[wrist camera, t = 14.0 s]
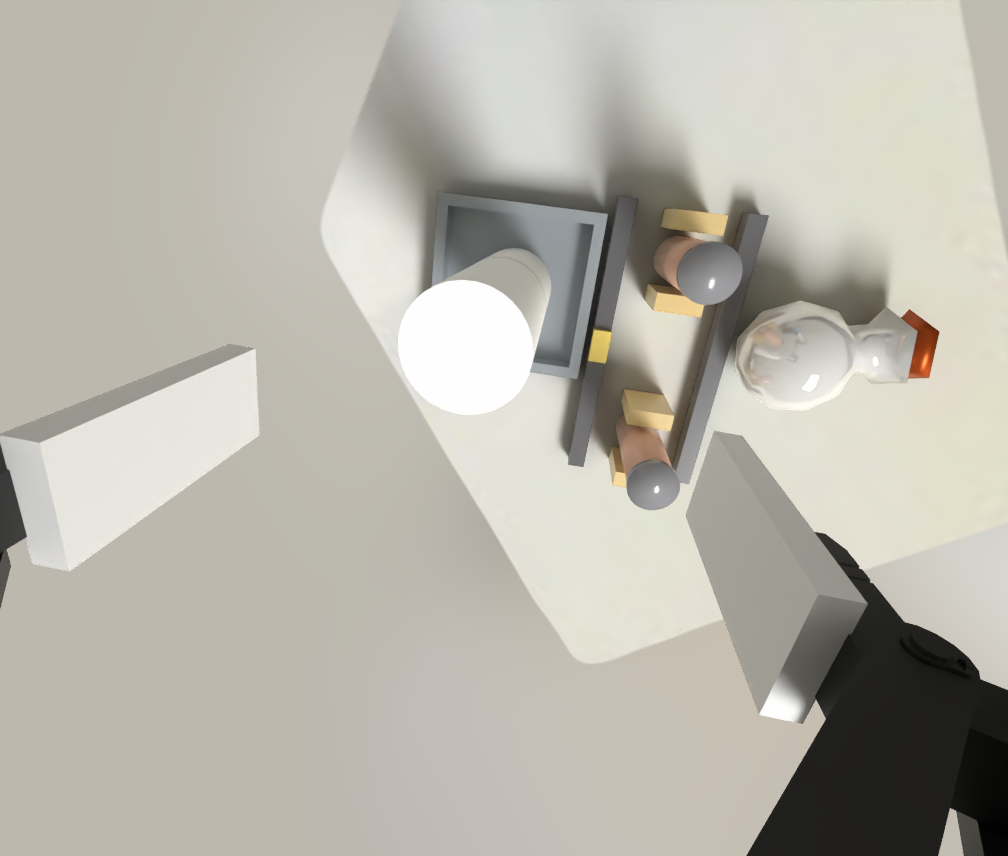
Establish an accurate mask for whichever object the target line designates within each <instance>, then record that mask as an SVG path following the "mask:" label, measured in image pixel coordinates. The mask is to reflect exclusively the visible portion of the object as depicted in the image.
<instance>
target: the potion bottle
mask: <svg viewBox="0 0 1008 856" xmlns="http://www.w3.org/2000/svg"><path fill="white" fill-rule="evenodd" d="M938 335H939V331H938V330H936V329H935V328H934V327H932V326H931V325H930V324H928V323H927V322H926V321H924V320H923V319H922V318H920V317H919V316H918V315H916V314H915V313H914V312H912V311H911V310H910V309H909V310H908V311H907V312H906V313H905V315H904V316H903V317H901V318H900V317H899V316H897V315H896V314H895V313H894V312H892V311H891V310H890V309H888V308H887V307H885V308H884V309H883V310H882V311H881V312H880V313H879V314H878V315H877V316H876V317H875V318H874V319H873V320H872V321H871V322H870V323H869V324H863V325H852V326H847V324H846V323H845V321H844V319H843V318H842V316H841V314H840V313H839V311H836V310H832V309H829V308H826V307H823V306H820V305H817V304H813V303H809V302H804V301H797V302H793V303H790V304H786V305H783V306H780V307H776V308H773V309H769V310H766V311H762V312H761V313H760V314H759V315H758V316H757V317H756V318H755V319H754V321H753V322H752V323H751V324H750V325H749V326H748V327H747V328H746V330H745V331H744V332H743V333H742V334H741V335H740V336H739V337H738V338H737V345H736V358H735V373H736V374H737V376H738V377H739V379H740V381H741V382H742V384H743V385H744V387H745V388H746V390H747V391H748V392H749V393H750V394H751V396H752V397H753V398H755V399H756V400H758V401H759V402H761V403H762V404H764V405H765V406H767V407H768V408H770V409H783V410H803V411H805V410H808V409H810V408H812V407H815V406H817V405H819V404H822V403H824V402H826V401H828V400H830V399H832V398H834V397H836V396H838V395H839V394H840V392H841V391H842V389H843V388H844V386H845V385H846V383H847V381H848V380H849V378H850V377H851V375H852V374H857V373H861V374H862V375H863V376H864V377H865V378H866V379H867V380H868V381H869V382H870V383H871V384H886V383H907V380H908V379H909V378H929V376H930V371H931V367H932V362H933V358H934V353H935V349H936V344H937V340H938Z"/></svg>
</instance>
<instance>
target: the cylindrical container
mask: <svg viewBox="0 0 1008 856" xmlns="http://www.w3.org/2000/svg"><path fill="white" fill-rule="evenodd" d="M550 293H551V279H550V275H549V272H548V270H547V268H546V266H545V264H544V263H543V262H542V261H541V259H540V258H538V257H537V256H536V255H535V254H533V253H531V252H530V251H527V250H524V249H521V248H507V249H503V250H501V251H498V252H496V253H494V254H492V255H490V256H489V257H487V258H485V259H483V260H481V261H479V262H477V263H476V264H474V265H472V266H470V267H468V268H466V269H464V270H463V271H461V272H459V273H457V274H455V275H453V276H451V277H449V278H448V279H446V280H444V281H442V282H440V283H438V284H436V285H435V286H433V287H431V288H430V289H428V290H426V291H425V292H423V293H422V294H421V295H420V296H419V297H417V298H416V299H415V300H414V301H413V303H412V304H411V305H410V307H409V308H408V310H407V311H406V313H405V315H404V318H403V320H402V322H401V326H400V331H399V335H398V351H399V356H400V361H401V365H402V367H403V370H404V372H405V375H406V377H407V378H408V380H409V381H410V383H411V384H412V386H413V387H414V388H415V389H416V390H417V392H418V393H419V394H420V395H421V396H422V397H424V398H425V399H426V400H427V401H429V402H430V403H432V404H433V405H435V406H437V407H439V408H441V409H443V410H446V411H449V412H453V413H457V414H465V415H472V414H482V413H486V412H489V411H493V410H495V409H497V408H499V407H501V406H503V405H505V404H506V403H507V402H509V401H510V400H511V399H512V398H514V397H515V395H516V394H517V393H518V392H519V391H520V390H521V389H522V387H523V385H524V383H525V382H526V380H527V378H528V375H529V372H530V369H531V366H532V363H533V359H534V355H535V351H536V347H537V344H538V340H539V336H540V332H541V328H542V325H543V321H544V317H545V313H546V309H547V306H548V302H549V298H550Z"/></svg>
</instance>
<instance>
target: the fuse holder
mask: <svg viewBox="0 0 1008 856" xmlns="http://www.w3.org/2000/svg"><path fill="white" fill-rule="evenodd" d="M637 201H638V199H637V198H629V197H621V196H619V197H617V202H616V207H615V213H614V218H613V223H612V229H611V234H610V239H609V244H608V250H607V255H606V260H605V266H604V271H603V276H602V281H601V287H600V292H599V297H598V303H597V308H596V313H595V318H594V324H593V329H592V334H591V340H590V345H589V350H588V355H587V361H586V366H585V371H584V376H583V382H582V387H581V392H580V398H579V403H578V408H577V413H576V419H575V424H574V429H573V435H572V440H571V445H570V450H569V456H568V465H574V466H580V467H583V466H584V462H585V457H586V452H587V447H588V442H589V437H590V432H591V427H592V422H593V417H594V412H595V408H596V403H597V398H598V393H599V388H600V383H601V378H602V373H603V368H604V363H606V360H607V355H608V350H609V345H610V340H611V335H612V331H611V329H612V324H613V319H614V314H615V309H616V304H617V300H618V295H619V290H620V285H621V280H622V275H623V270H624V265H625V260H626V255H627V251H628V246H629V241H630V236H631V231H632V226H633V221H634V216H635V211H636V206H637ZM768 217H769V216H768V215H760V214H753V213H742V217H741V220H740V224H739V228H738V231H737V235H736V238H735V242H734V245H733V249H734V250H735V251H736V252H737V253H738V255H739V257H740V259H741V262H742V268H743V271H742V278H741V281H740V283H739V285H738V287H737V289H736V290H735V291H734V292H733V294H732V295H730V296H729V297H728V298H727V299H725V300H723V301H722V302H719V303H717V306H716V310H715V314H714V317H713V321H712V324H711V328H710V332H709V335H708V339H707V342H706V346H705V350H704V353H703V357H702V360H701V364H700V367H699V371H698V375H697V378H696V382H695V385H694V389H693V393H692V396H691V400H690V403H689V407H688V411H687V414H686V418H685V421H684V425H683V428H682V432H681V436H680V439H679V443H678V446H677V450H676V454H675V457H674V461H673V464H672V468H673V469H674V470H675V472H676V474H677V477H678V479H679V483H685V484H689V482H690V479H691V476H692V472H693V469H694V466H695V462H696V459H697V455H698V452H699V449H700V445H701V442H702V439H703V435H704V432H705V429H706V425H707V422H708V419H709V415H710V412H711V408H712V405H713V402H714V398H715V395H716V392H717V388H718V385H719V382H720V378H721V375H722V372H723V368H724V365H725V361H726V358H727V355H728V351H729V348H730V345H731V341H732V338H733V335H734V331H735V328H736V324H737V321H738V318H739V314H740V311H741V308H742V304H743V301H744V298H745V294H746V291H747V288H748V284H749V281H750V277H751V274H752V271H753V267H754V264H755V261H756V257H757V254H758V251H759V247H760V244H761V240H762V237H763V234H764V230H765V227H766V224H767V220H768ZM727 219H728V215H721V214H713V213H705V212H697V211H690V210H682V209H665V210H664V214H663V218H662V223H661V227H663V228H669V229H675V230H683V231H690V232H698V233H706V234H713V235H721V236H723V234H724V231H725V227H726V223H727ZM644 300H645V301H646V302H647V304H648V305H649V306H650V307H651V308H652V310H653V311H659V312H666V313H673V314H680V315H687V316H694V317H701V316H702V312H703V308H704V305H701V304H697V303H694V302H693V301H691V300H689V299H688V298H687V297H685V296H684V295H683V294H682V292H681V291H680V290H678V289H677V288H675V287H668V286H661V285H654V284H648V286H647V290H646V294H645V299H644ZM621 403H622V407H623V411H624V415H625V419H626V423H627V424H629V425H635V426H641V427H648V428H654V429H660V430H667V431H671V427H672V424H673V420H674V414H673V412H672V410H671V408H670V406H669V404H668V402H667V400H666V398H665V396H664V395H661V394H655V393H648V392H642V391H635V390H629V389H624V393H623V397H622V402H621ZM609 464H610V470H611V477H612V484H613V485H614V486H620V487H626V477H625V472H624V467H623V462H622V457H621V452H620V447H613V446H611V451H610V455H609Z"/></svg>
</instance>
